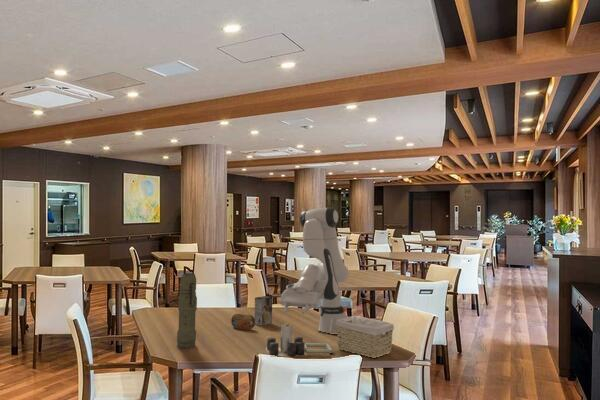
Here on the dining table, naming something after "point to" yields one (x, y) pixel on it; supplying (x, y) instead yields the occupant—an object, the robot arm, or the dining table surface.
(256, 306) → the coffee box
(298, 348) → the spacer board
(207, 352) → the dining table surface
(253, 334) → the dining table surface
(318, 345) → the tray
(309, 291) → the robot arm
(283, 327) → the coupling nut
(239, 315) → the tin
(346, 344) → the storage basket
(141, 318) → the dining table surface
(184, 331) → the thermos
